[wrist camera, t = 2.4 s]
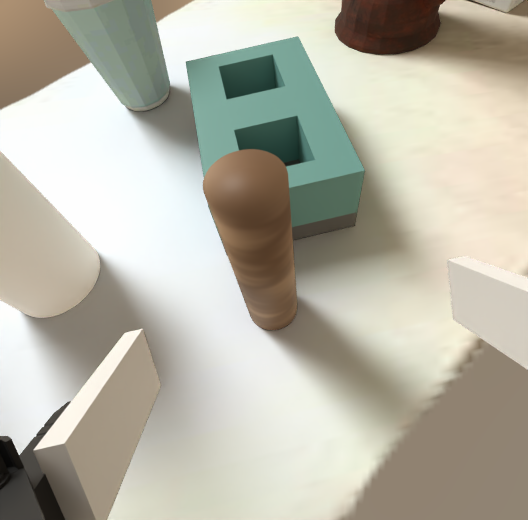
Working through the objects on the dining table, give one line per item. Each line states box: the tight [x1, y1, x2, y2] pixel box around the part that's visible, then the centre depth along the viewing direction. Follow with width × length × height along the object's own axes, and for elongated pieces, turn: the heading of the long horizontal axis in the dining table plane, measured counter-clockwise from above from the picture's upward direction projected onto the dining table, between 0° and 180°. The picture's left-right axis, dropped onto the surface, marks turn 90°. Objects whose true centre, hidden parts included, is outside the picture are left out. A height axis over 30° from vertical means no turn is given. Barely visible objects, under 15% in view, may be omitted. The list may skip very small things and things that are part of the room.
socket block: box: [186, 37, 365, 254], centre depth 35 cm, size 12×20×7 cm, turn 12°
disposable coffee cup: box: [44, 0, 170, 111], centre depth 40 cm, size 11×11×15 cm
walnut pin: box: [203, 149, 297, 330], centre depth 23 cm, size 4×4×15 cm
